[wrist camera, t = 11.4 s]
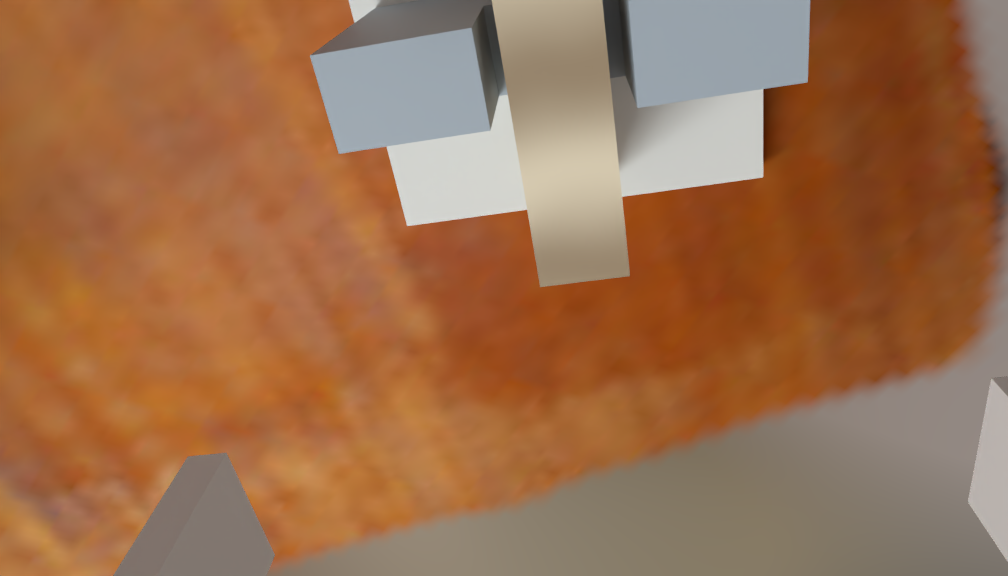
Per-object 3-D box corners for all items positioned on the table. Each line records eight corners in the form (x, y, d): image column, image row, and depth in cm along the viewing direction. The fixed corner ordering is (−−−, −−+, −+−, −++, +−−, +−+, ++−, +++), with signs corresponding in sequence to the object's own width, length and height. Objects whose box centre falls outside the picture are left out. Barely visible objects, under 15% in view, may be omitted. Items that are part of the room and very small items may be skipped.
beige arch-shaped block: (485, -181, 25) (456, -207, 18) (570, -199, 25) (578, -234, 17) (543, 187, 32) (540, 286, 24) (610, 178, 32) (630, 276, 24)
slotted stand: (310, -176, 27) (194, -203, 18) (756, -273, 25) (868, -357, 16) (410, 217, 34) (363, 331, 26) (757, 169, 32) (833, 276, 24)
